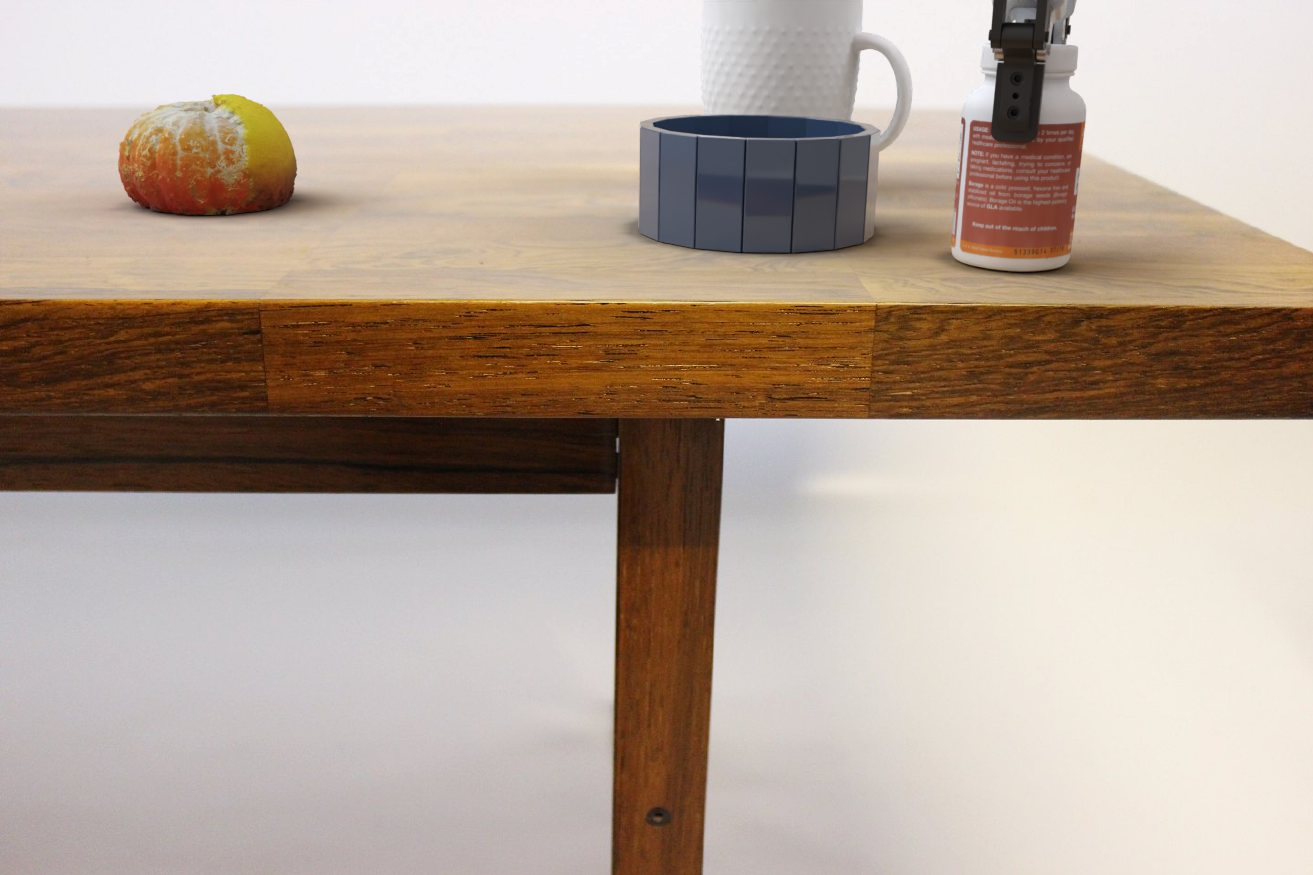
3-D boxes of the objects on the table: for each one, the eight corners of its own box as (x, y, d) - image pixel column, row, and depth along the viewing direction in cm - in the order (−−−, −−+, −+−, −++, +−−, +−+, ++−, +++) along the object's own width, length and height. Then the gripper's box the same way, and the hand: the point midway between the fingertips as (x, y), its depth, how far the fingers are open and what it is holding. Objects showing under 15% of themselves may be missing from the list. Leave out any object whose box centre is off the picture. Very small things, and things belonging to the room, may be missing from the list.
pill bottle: (1093, 271, 70) (1120, 47, 66) (984, 276, 68) (1006, 47, 64) (1030, 248, 75) (1053, 41, 72) (929, 252, 74) (947, 41, 70)
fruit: (135, 182, 90) (160, 63, 88) (293, 228, 92) (321, 112, 90) (86, 206, 79) (113, 71, 77) (265, 257, 81) (296, 127, 79)
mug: (920, 183, 98) (935, -6, 94) (885, 205, 88) (900, -5, 84) (726, 169, 103) (732, -11, 99) (673, 189, 94) (678, -10, 89)
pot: (893, 220, 83) (900, 121, 81) (840, 261, 71) (847, 145, 69) (684, 204, 88) (686, 109, 86) (602, 240, 76) (602, 131, 74)
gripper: (1135, -251, 56) (1086, 155, 62) (1148, -209, 69) (1107, 125, 75) (954, -245, 59) (923, 145, 64) (999, -205, 72) (969, 118, 77)
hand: (1022, 133), depth 69 cm, fingers closed on pill bottle, 6 cm apart
